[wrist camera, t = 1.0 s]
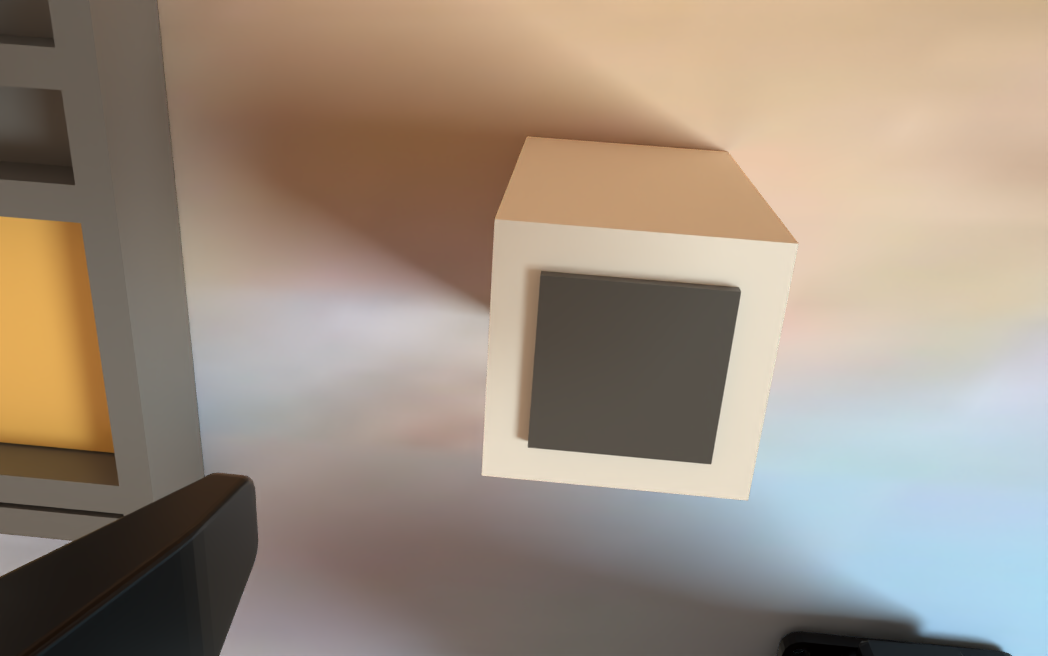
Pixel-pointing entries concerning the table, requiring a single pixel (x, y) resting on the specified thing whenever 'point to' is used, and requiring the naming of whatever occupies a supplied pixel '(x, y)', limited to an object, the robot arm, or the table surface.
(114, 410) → the pdu strip
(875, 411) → the table surface
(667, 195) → the plug
